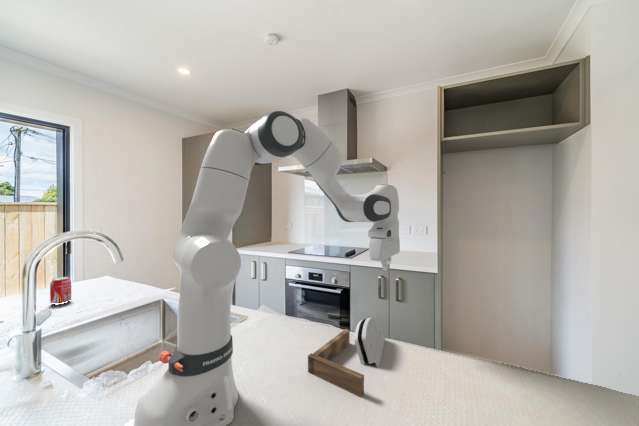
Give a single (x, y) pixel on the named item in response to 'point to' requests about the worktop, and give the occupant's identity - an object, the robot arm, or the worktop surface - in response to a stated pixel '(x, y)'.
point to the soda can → (60, 290)
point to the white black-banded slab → (369, 342)
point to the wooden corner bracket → (336, 365)
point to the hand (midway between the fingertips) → (386, 269)
